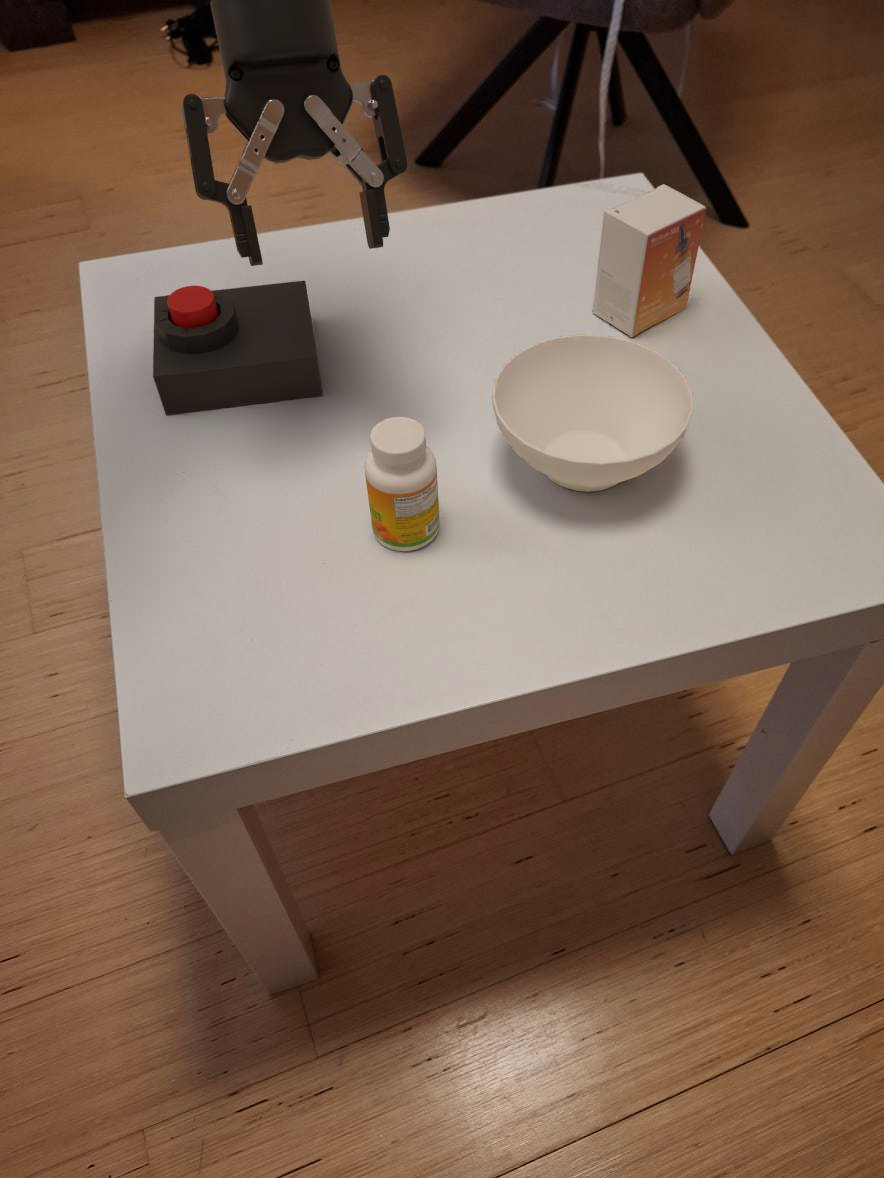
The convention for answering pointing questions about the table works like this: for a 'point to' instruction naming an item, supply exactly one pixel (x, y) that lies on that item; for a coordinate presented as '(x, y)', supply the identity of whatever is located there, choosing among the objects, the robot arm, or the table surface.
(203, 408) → the red push button box
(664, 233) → the small box
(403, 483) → the supplement bottle
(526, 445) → the bowl
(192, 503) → the table surface
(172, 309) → the power button
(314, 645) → the table surface
